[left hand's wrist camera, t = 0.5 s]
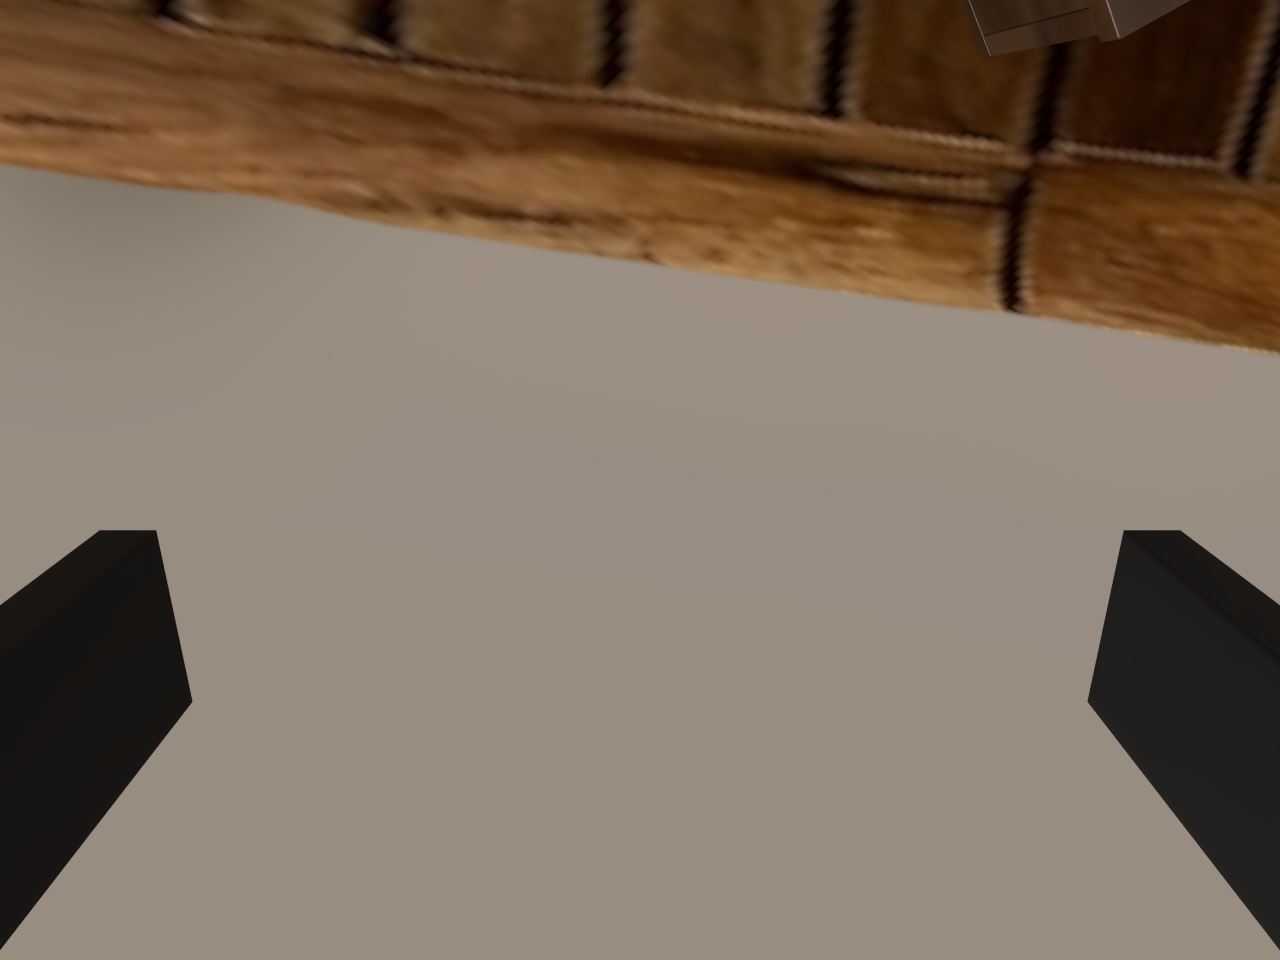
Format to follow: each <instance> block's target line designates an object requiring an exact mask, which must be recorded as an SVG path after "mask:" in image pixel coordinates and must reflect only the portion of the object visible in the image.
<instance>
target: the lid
mask: <svg viewBox="0 0 1280 960" xmlns="http://www.w3.org/2000/svg"><path fill="white" fill-rule="evenodd" d="M1188 1H1190V0H1087V3H1088V5H1089V8H1090V11H1091V14H1092V17H1093V20H1094V23H1095V26H1096V29H1097V32H1098V35H1099V38H1100V41H1101V42H1108V41H1113V40H1119V39H1122V38H1123V37H1125V36H1127V35H1129V34H1131V33H1132V32H1134V31H1136V30H1138V29H1140V28H1141V27H1143V26H1145V25H1147V24H1149V23H1150V22H1152V21H1154V20H1156V19H1157V18H1159V17H1161V16H1163V15H1165V14H1166V13H1168V12H1170V11H1172V10H1174V9H1175V8H1177V7H1179V6H1181V5H1183V4H1184V3H1186V2H1188Z"/></svg>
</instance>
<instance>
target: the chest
mask: <svg viewBox="0 0 1280 960" xmlns="http://www.w3.org/2000/svg"><path fill="white" fill-rule="evenodd" d="M961 2H962V5H963V7H964V10H965V13H966V15H967V18H968V20H969V23H970V26H971V28H972V31H973V33H974V36H975V39H976V41H977V44H978V46H979V49H980V52H981V54H982V57H983V58H988V57H992V56H997V55H1002V54H1007V53H1012V52H1017V51H1022V50H1027V49H1032V48H1037V47H1042V46H1047V45H1052V44H1058V43H1063V42H1068V41H1073V40H1078V39H1083V38H1088V37H1093V36H1098V32H1097V29H1096V26H1095V23H1094V20H1093V17H1092V14H1091V11H1090V8H1089V5H1088V3H1087V0H961Z"/></svg>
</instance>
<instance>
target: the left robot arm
mask: <svg viewBox="0 0 1280 960" xmlns="http://www.w3.org/2000/svg"><path fill="white" fill-rule="evenodd" d="M191 703H192V697H191V692H190V688H189V683H188V678H187V673H186V669H185V664H184V659H183V655H182V650H181V645H180V640H179V636H178V631H177V626H176V621H175V617H174V612H173V607H172V603H171V598H170V593H169V588H168V584H167V579H166V574H165V570H164V565H163V560H162V555H161V551H160V546H159V541H158V537H157V532H156V530H100V531H98V532H97V533H96V534H94V535H93V536H92V537H90V538H89V539H88V540H86V541H85V542H84V543H82V544H81V545H80V546H78V547H77V548H76V549H74V550H73V551H72V552H70V553H69V554H68V555H66V556H65V557H64V558H62V559H61V560H60V561H58V562H57V563H56V564H54V565H53V566H52V567H50V568H49V569H48V570H46V571H45V572H44V573H43V574H41V575H40V576H38V577H37V578H36V579H35V580H33V581H32V582H31V583H29V584H28V585H27V586H25V587H24V588H22V589H21V590H20V591H18V592H17V593H16V594H14V595H13V596H12V597H11V598H9V599H8V600H7V601H5V602H4V603H3V604H1V605H0V950H1V948H2V947H3V946H4V944H5V943H6V942H7V941H8V939H9V938H10V937H11V935H12V934H13V933H14V932H15V930H16V929H17V928H18V926H19V925H20V924H21V923H22V921H23V920H24V919H25V917H26V916H27V915H28V913H29V912H30V911H31V910H32V908H33V907H34V906H35V904H36V903H37V902H38V901H39V899H40V898H41V897H42V895H43V894H44V893H45V891H46V890H47V889H48V888H49V886H50V885H51V884H52V882H53V881H54V880H55V879H56V877H57V876H58V875H59V873H60V872H61V871H62V870H63V868H64V867H65V866H66V864H67V863H68V862H69V860H70V859H71V858H72V857H73V855H74V854H75V853H76V851H77V850H78V849H79V848H80V846H81V845H82V844H83V842H84V841H85V840H86V839H87V837H88V836H89V835H90V833H91V832H92V831H93V829H94V828H95V827H96V826H97V824H98V823H99V822H100V820H101V819H102V818H103V817H104V815H105V814H106V813H107V811H108V810H109V809H110V808H111V806H112V805H113V804H114V802H115V801H116V800H117V799H118V797H119V796H120V795H121V793H122V792H123V791H124V790H125V788H126V787H127V786H128V784H129V783H130V782H131V780H132V779H133V778H134V776H135V775H136V774H137V773H138V771H139V770H140V769H141V767H142V766H143V765H144V764H145V762H146V761H147V760H148V759H149V757H150V756H151V755H152V753H153V752H154V751H155V749H156V748H157V747H158V746H159V744H160V743H161V742H162V740H163V739H164V738H165V737H166V735H167V734H168V733H169V731H170V730H171V729H172V728H173V726H174V725H175V724H176V722H177V721H178V720H179V718H180V717H181V716H182V715H183V713H184V712H185V711H186V709H187V708H188V707H189V706H190V704H191ZM1088 703H1089V704H1090V706H1091V707H1092V708H1093V709H1094V711H1095V712H1096V713H1097V715H1098V716H1099V717H1100V718H1101V720H1102V721H1103V722H1104V724H1105V725H1106V726H1107V727H1108V729H1109V730H1110V731H1111V733H1112V734H1113V735H1114V737H1115V738H1116V739H1117V740H1118V742H1119V743H1120V744H1121V746H1122V747H1123V748H1124V749H1125V751H1126V752H1127V753H1128V755H1129V756H1130V757H1131V759H1132V760H1133V761H1134V762H1135V764H1136V765H1137V766H1138V767H1139V769H1140V770H1141V771H1142V773H1143V774H1144V775H1145V777H1146V778H1147V779H1148V780H1149V782H1150V783H1151V784H1152V786H1153V787H1154V788H1155V790H1156V791H1157V792H1158V793H1159V795H1160V796H1161V797H1162V799H1163V800H1164V801H1165V802H1166V804H1167V805H1168V806H1169V808H1170V809H1171V810H1172V811H1173V813H1174V814H1175V815H1176V817H1177V818H1178V819H1179V821H1180V822H1181V823H1182V824H1183V826H1184V827H1185V828H1186V830H1187V831H1188V832H1189V833H1190V835H1191V836H1192V837H1193V839H1194V840H1195V841H1196V842H1197V844H1198V845H1199V846H1200V848H1201V849H1202V850H1203V851H1204V853H1205V854H1206V855H1207V857H1208V858H1209V859H1210V861H1211V862H1212V863H1213V864H1214V866H1215V867H1216V868H1217V870H1218V871H1219V872H1220V873H1221V875H1222V876H1223V877H1224V879H1225V880H1226V881H1227V882H1228V884H1229V885H1230V886H1231V888H1232V889H1233V890H1234V892H1235V893H1236V894H1237V895H1238V897H1239V898H1240V899H1241V901H1242V902H1243V903H1244V904H1245V906H1246V907H1247V908H1248V910H1249V911H1250V912H1251V913H1252V915H1253V916H1254V917H1255V919H1256V920H1257V921H1258V923H1259V924H1260V925H1261V926H1262V928H1263V929H1264V930H1265V932H1266V933H1267V934H1268V935H1269V937H1270V938H1271V939H1272V941H1273V942H1274V943H1275V944H1276V946H1277V947H1278V948H1279V950H1280V605H1279V604H1277V603H1276V602H1275V601H1273V600H1272V599H1271V598H1269V597H1268V596H1267V595H1266V594H1264V593H1263V592H1262V591H1260V590H1259V589H1257V588H1256V587H1255V586H1254V585H1252V584H1251V583H1250V582H1248V581H1247V580H1246V579H1244V578H1243V577H1242V576H1240V575H1239V574H1238V573H1236V572H1235V571H1234V570H1232V569H1231V568H1230V567H1228V566H1227V565H1226V564H1224V563H1223V562H1222V561H1220V560H1219V559H1218V558H1216V557H1215V556H1214V555H1212V554H1211V553H1210V552H1208V551H1207V550H1206V549H1204V548H1203V547H1202V546H1200V545H1199V544H1198V543H1196V542H1195V541H1194V540H1192V539H1191V538H1190V537H1188V536H1187V535H1186V534H1184V533H1183V532H1182V531H1180V530H1124V532H1123V537H1122V541H1121V546H1120V551H1119V555H1118V560H1117V565H1116V570H1115V574H1114V579H1113V584H1112V588H1111V593H1110V598H1109V603H1108V607H1107V612H1106V617H1105V621H1104V626H1103V631H1102V636H1101V640H1100V645H1099V650H1098V654H1097V659H1096V664H1095V669H1094V673H1093V678H1092V683H1091V688H1090V693H1089V697H1088Z"/></svg>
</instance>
